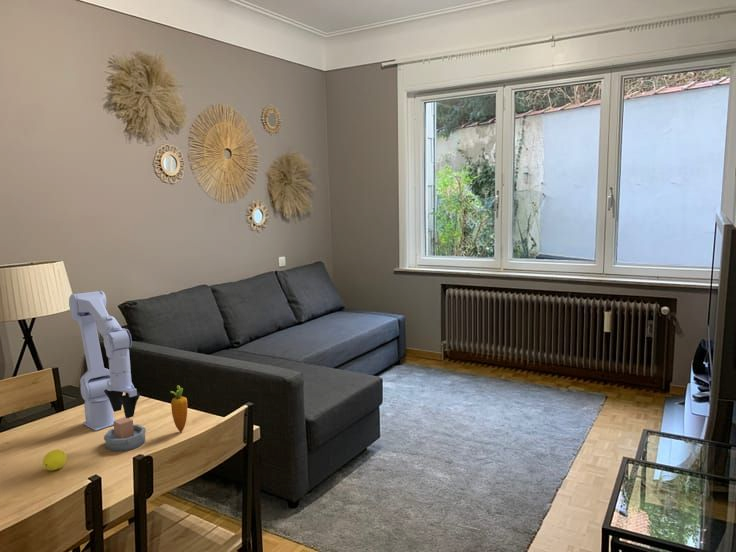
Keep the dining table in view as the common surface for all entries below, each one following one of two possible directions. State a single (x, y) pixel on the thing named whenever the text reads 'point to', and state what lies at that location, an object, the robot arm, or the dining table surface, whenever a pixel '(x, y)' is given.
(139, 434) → the grey ashtray
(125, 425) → the block
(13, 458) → the dining table surface
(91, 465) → the dining table surface
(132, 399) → the robot arm
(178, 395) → the carrot
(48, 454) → the lemon
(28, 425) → the dining table surface
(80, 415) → the dining table surface
